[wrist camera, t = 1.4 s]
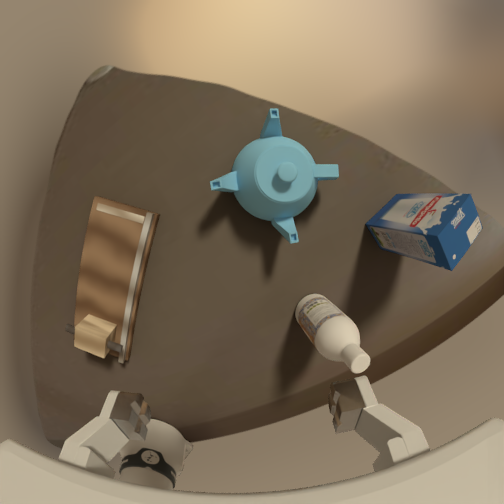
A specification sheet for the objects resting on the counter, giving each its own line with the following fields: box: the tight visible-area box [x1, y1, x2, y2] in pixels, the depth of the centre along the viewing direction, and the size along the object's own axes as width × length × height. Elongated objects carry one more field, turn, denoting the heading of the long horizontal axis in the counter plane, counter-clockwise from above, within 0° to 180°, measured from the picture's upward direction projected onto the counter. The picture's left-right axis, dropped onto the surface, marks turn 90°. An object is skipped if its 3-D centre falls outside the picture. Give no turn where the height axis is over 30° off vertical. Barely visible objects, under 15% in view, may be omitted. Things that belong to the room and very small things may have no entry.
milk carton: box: [366, 194, 482, 271], centre depth 40 cm, size 10×6×20 cm, turn 129°
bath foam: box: [295, 294, 370, 373], centre depth 41 cm, size 7×7×20 cm
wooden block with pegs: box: [66, 314, 123, 358], centre depth 41 cm, size 4×11×6 cm, turn 72°
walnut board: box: [74, 196, 160, 363], centre depth 43 cm, size 28×12×4 cm, turn 162°
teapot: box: [210, 109, 339, 243], centre depth 40 cm, size 15×15×11 cm
